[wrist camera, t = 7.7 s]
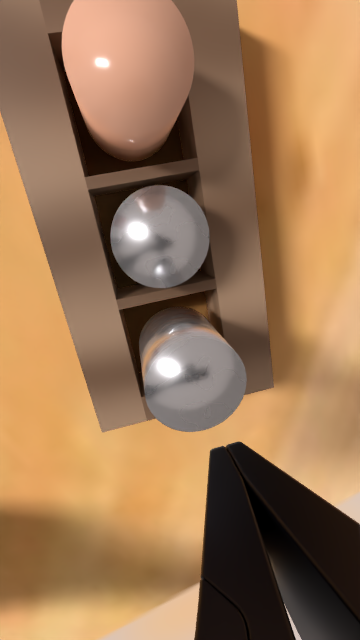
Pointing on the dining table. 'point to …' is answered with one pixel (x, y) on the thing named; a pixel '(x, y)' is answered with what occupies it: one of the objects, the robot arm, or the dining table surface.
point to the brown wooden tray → (79, 188)
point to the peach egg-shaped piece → (128, 71)
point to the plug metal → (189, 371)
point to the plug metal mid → (159, 236)
